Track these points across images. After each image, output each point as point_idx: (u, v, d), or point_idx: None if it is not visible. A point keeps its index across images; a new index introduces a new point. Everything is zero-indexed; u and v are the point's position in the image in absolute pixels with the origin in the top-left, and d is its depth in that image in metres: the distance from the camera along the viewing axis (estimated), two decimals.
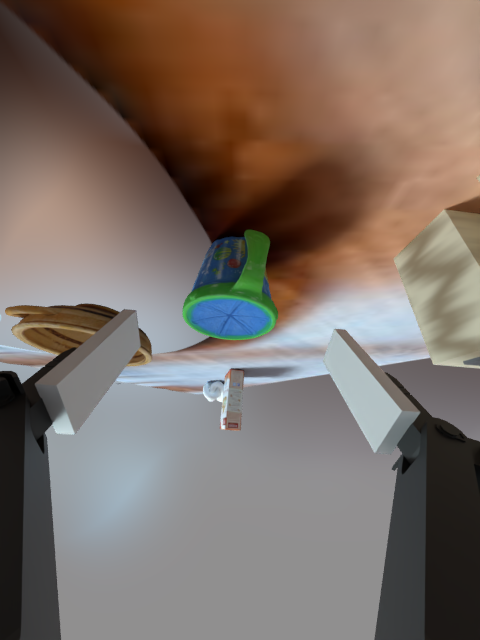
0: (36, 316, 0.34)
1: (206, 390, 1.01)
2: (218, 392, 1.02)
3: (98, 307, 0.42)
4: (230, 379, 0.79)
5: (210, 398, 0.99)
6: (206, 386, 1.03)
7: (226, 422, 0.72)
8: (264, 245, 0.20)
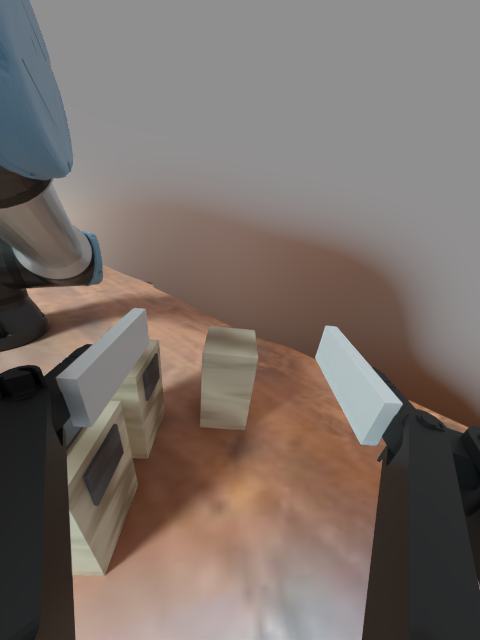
0: None
1: None
2: None
3: None
4: None
5: None
6: None
7: None
8: None
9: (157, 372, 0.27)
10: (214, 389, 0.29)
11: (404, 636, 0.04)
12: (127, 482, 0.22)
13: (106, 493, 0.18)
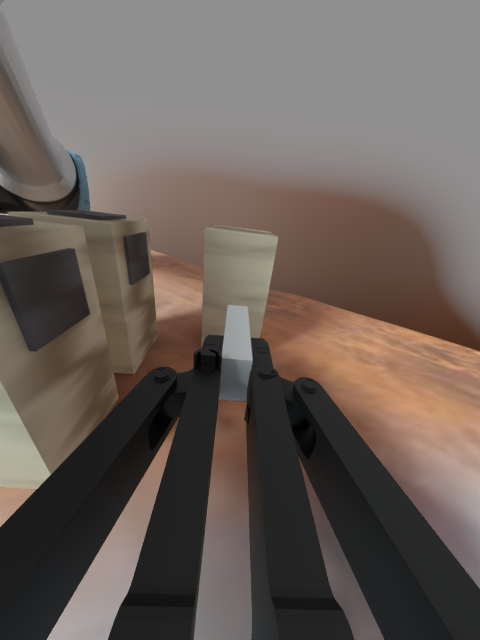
0: None
1: None
2: None
3: None
4: None
5: None
6: None
7: None
8: None
9: (146, 260, 0.21)
10: (219, 290, 0.23)
11: (268, 594, 0.04)
12: (99, 376, 0.16)
13: (56, 353, 0.11)
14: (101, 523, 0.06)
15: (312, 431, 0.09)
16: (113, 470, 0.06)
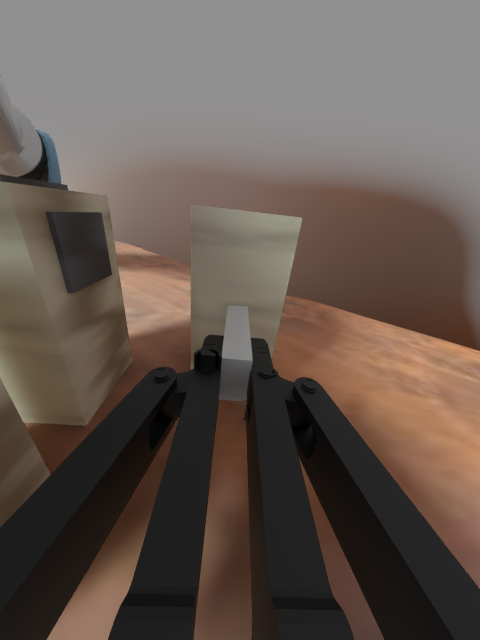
0: None
1: None
2: None
3: None
4: None
5: None
6: None
7: None
8: None
9: (103, 256, 0.14)
10: (214, 296, 0.16)
11: (267, 594, 0.04)
12: None
13: None
14: (101, 523, 0.06)
15: (312, 431, 0.09)
16: (113, 470, 0.06)
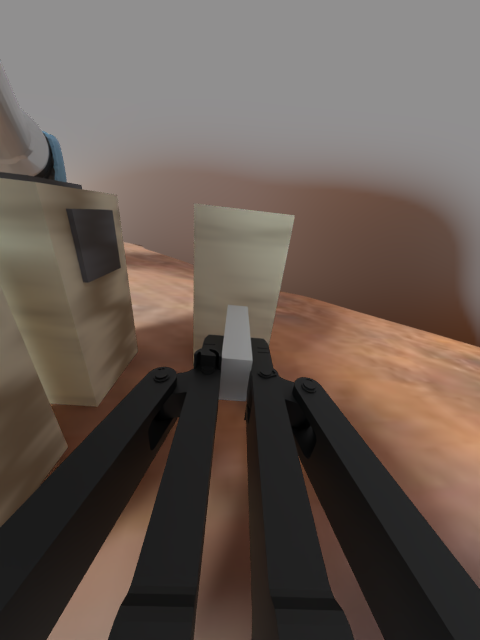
0: None
1: None
2: None
3: None
4: None
5: None
6: None
7: None
8: None
9: (113, 250, 0.15)
10: (215, 288, 0.17)
11: (268, 594, 0.04)
12: (20, 428, 0.10)
13: None
14: (101, 523, 0.06)
15: (312, 431, 0.09)
16: (113, 470, 0.06)
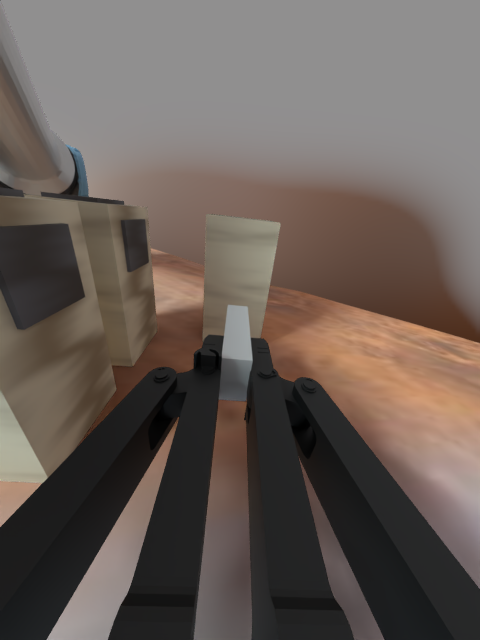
0: None
1: None
2: None
3: None
4: None
5: None
6: None
7: None
8: None
9: (145, 249, 0.20)
10: (221, 278, 0.22)
11: (267, 594, 0.04)
12: (96, 365, 0.15)
13: (48, 334, 0.11)
14: (101, 523, 0.06)
15: (312, 431, 0.09)
16: (113, 470, 0.06)
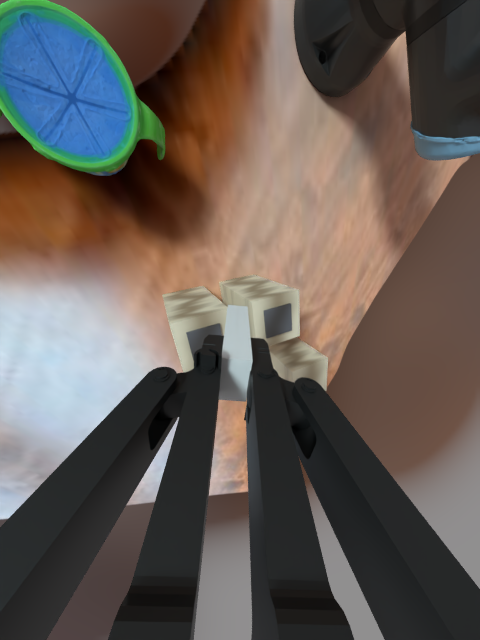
0: None
1: None
2: None
3: None
4: None
5: None
6: None
7: None
8: (164, 149, 0.25)
9: None
10: (273, 362, 0.39)
11: (268, 594, 0.04)
12: None
13: None
14: (102, 523, 0.06)
15: (312, 431, 0.09)
16: (113, 470, 0.06)
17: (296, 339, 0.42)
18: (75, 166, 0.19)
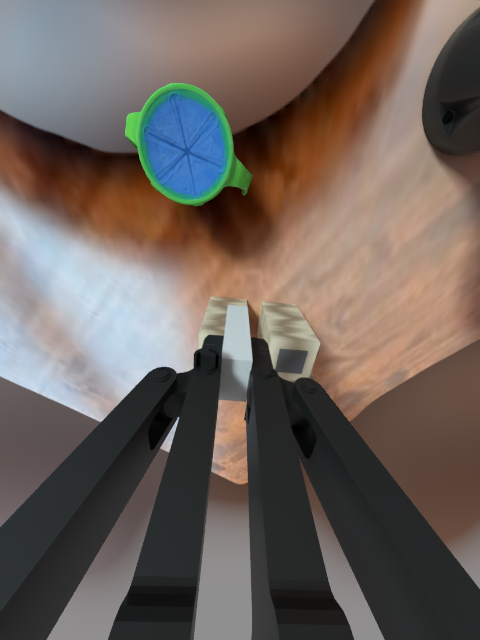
0: None
1: None
2: None
3: None
4: None
5: None
6: None
7: None
8: (247, 189, 0.29)
9: None
10: None
11: (268, 595, 0.04)
12: None
13: None
14: (101, 523, 0.06)
15: (312, 431, 0.09)
16: (113, 470, 0.06)
17: (312, 377, 0.43)
18: (173, 200, 0.25)
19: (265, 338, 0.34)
